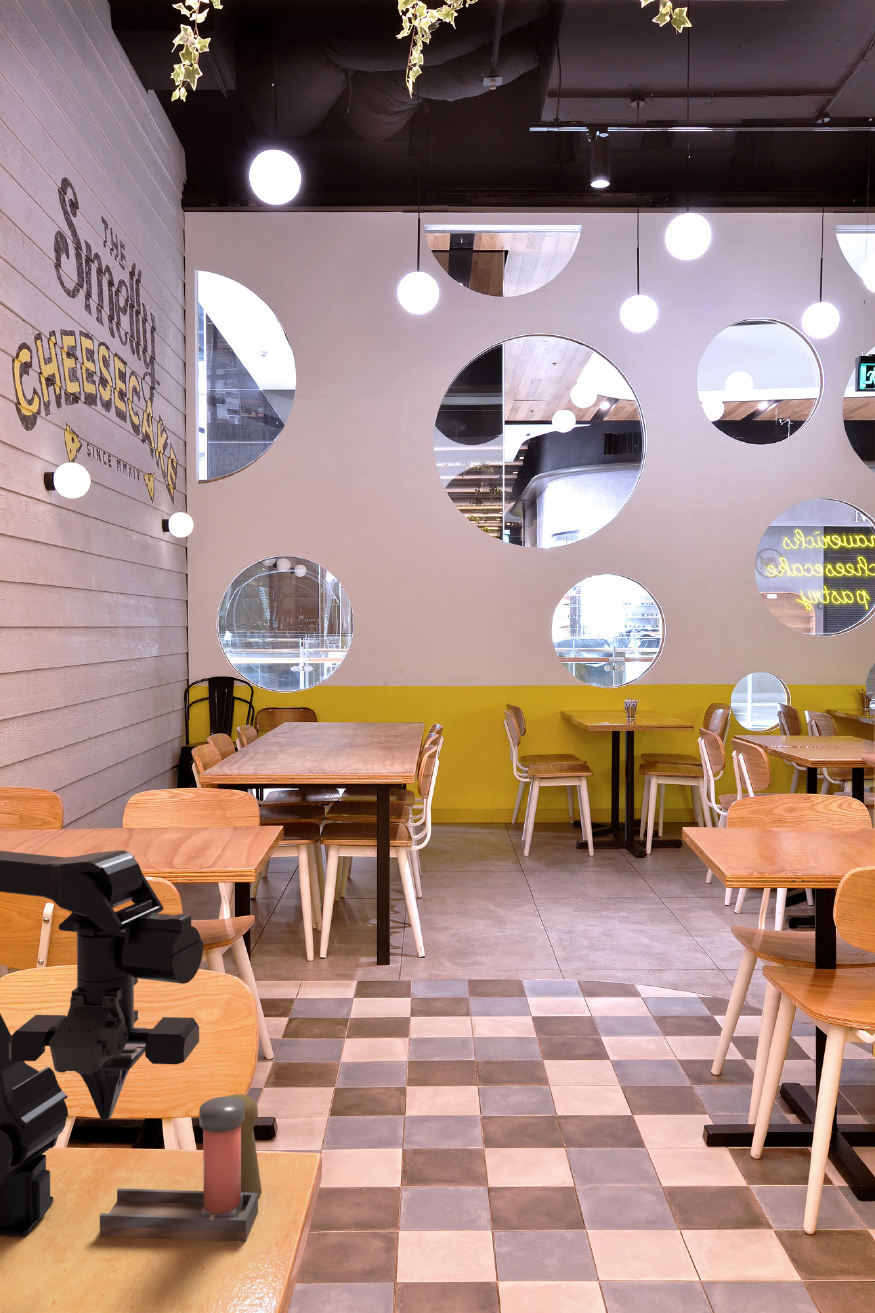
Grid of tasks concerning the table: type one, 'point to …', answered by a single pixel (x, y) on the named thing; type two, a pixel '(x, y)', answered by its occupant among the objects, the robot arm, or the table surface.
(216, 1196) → the plug
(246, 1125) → the olive rounded upright piece
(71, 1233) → the table surface
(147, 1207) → the track
